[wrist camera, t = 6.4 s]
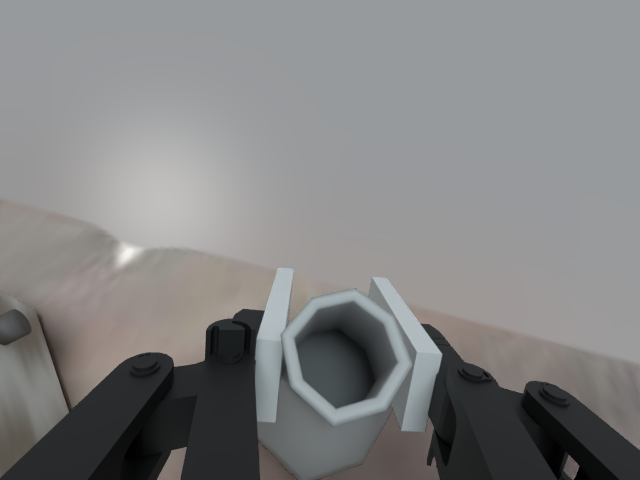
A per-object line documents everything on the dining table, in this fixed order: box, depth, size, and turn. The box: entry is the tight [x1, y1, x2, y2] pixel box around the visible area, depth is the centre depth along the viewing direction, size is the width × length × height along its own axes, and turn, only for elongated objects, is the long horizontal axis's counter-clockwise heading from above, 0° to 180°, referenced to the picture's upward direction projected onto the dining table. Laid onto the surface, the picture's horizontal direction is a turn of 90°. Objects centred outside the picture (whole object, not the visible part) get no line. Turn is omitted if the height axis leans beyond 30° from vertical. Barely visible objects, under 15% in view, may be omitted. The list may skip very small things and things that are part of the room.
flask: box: [257, 288, 413, 480], centre depth 12 cm, size 7×7×10 cm
